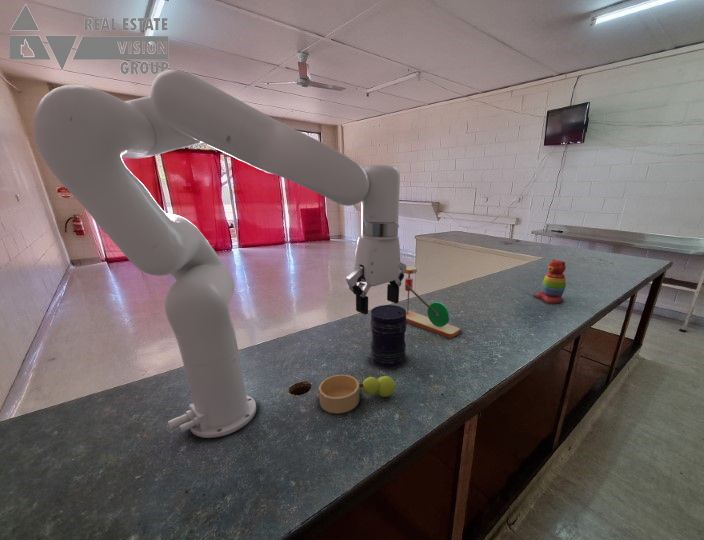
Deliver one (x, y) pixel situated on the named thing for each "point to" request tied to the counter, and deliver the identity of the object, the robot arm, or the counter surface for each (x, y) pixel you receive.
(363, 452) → the counter surface
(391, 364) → the storage jar
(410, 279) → the crank mechanism
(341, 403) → the bowl
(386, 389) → the pear plush
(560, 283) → the stacking bear
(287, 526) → the counter surface
